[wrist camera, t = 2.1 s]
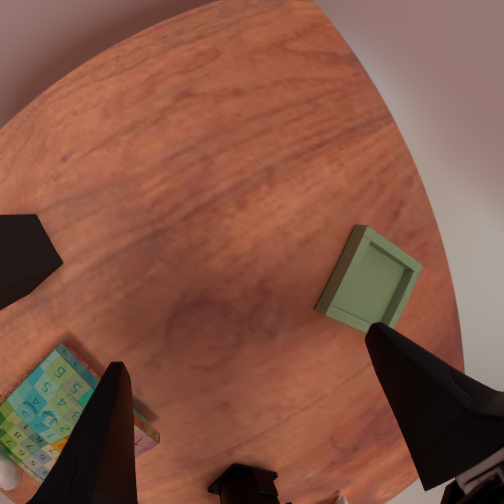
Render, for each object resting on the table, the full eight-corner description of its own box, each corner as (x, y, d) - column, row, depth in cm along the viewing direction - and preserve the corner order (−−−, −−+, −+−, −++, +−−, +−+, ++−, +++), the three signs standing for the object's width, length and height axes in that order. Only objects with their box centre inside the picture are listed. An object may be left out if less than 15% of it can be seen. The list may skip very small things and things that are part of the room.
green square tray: (376, 335, 28) (387, 342, 26) (314, 308, 25) (324, 315, 23) (410, 262, 27) (423, 265, 26) (355, 224, 25) (367, 225, 23)
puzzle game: (159, 449, 19) (54, 498, 17) (160, 417, 23) (61, 474, 21) (51, 353, 16) (-23, 432, 14) (71, 330, 21) (-7, 412, 19)
